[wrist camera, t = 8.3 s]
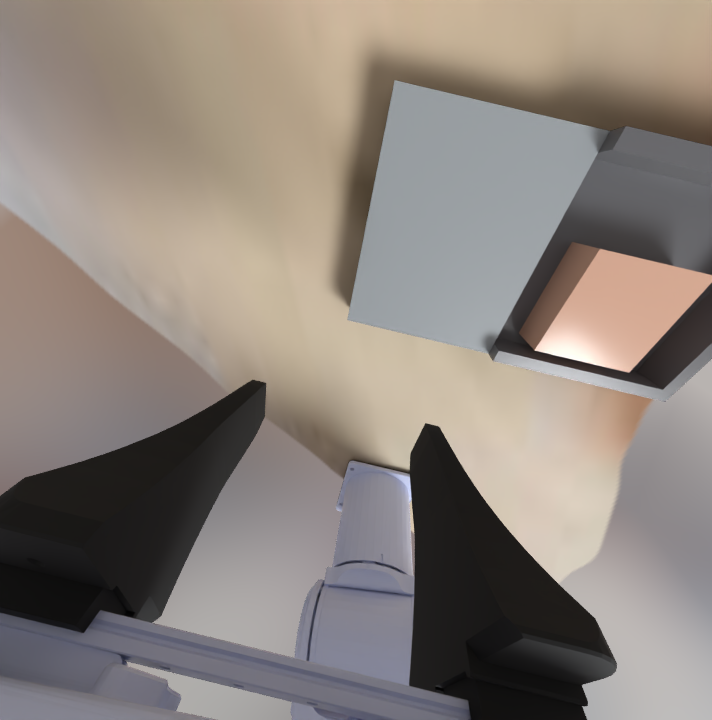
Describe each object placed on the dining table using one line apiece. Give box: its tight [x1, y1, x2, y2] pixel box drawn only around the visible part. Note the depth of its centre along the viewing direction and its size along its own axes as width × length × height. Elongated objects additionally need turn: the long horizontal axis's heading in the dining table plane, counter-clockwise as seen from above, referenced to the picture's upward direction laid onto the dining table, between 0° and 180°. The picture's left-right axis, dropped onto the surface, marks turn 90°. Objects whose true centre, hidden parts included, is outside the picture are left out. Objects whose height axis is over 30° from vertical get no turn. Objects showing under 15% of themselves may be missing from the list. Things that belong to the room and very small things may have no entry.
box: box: [489, 126, 712, 402], centre depth 16 cm, size 12×12×3 cm
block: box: [519, 242, 712, 373], centre depth 16 cm, size 6×6×2 cm
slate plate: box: [347, 80, 610, 354], centre depth 16 cm, size 12×10×2 cm
